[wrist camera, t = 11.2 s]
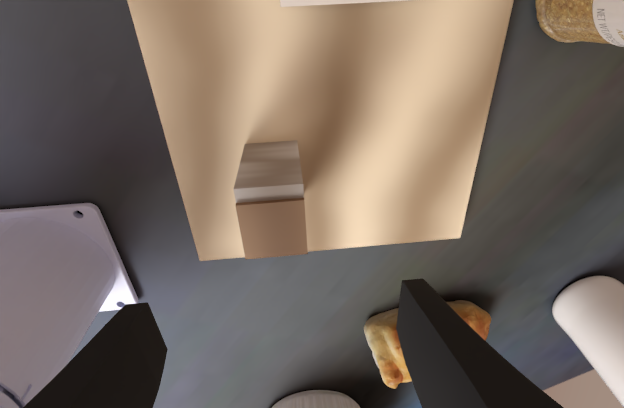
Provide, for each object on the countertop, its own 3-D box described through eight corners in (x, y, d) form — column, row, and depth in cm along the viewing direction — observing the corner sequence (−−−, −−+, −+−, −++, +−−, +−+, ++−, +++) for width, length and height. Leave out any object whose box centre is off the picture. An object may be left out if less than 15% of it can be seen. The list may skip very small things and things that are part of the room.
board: (203, 248, 21) (199, 261, 20) (74, -241, 11) (53, -267, 10) (451, 227, 22) (460, 238, 21) (548, -247, 12) (575, -272, 11)
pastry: (475, 276, 25) (505, 317, 21) (483, 330, 28) (510, 373, 25) (355, 315, 26) (366, 360, 22) (377, 363, 29) (390, 408, 26)
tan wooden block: (253, 199, 18) (245, 259, 14) (244, 144, 17) (232, 191, 12) (301, 196, 18) (307, 253, 14) (297, 140, 17) (303, 186, 12)
